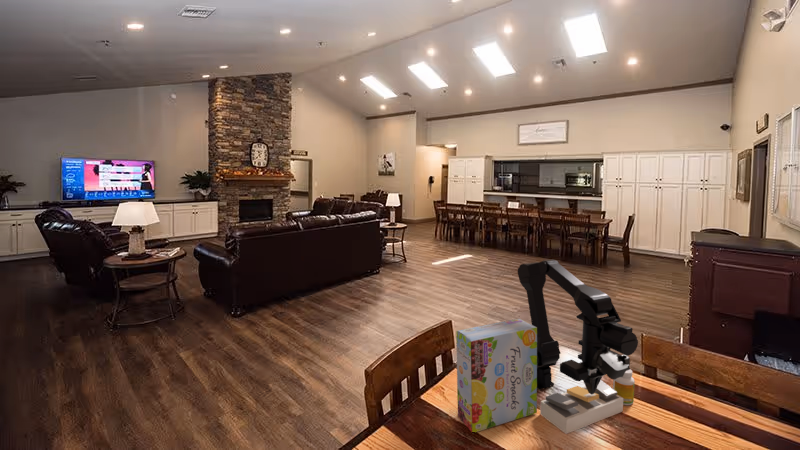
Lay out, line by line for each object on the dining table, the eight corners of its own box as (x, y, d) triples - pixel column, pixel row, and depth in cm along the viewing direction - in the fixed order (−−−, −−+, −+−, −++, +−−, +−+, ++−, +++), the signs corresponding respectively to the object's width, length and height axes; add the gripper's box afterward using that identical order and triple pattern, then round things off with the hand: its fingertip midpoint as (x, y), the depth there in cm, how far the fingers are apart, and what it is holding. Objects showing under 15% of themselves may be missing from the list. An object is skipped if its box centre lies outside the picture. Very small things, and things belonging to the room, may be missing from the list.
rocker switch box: (540, 414, 105) (540, 400, 105) (594, 395, 114) (595, 382, 114) (566, 433, 97) (566, 419, 97) (622, 411, 106) (623, 397, 105)
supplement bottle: (636, 406, 108) (638, 375, 107) (616, 404, 109) (617, 373, 108) (629, 396, 113) (630, 366, 112) (609, 394, 114) (611, 364, 113)
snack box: (517, 398, 113) (519, 316, 110) (537, 414, 105) (540, 327, 102) (455, 415, 105) (455, 328, 102) (471, 435, 97) (472, 341, 94)
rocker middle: (566, 392, 107) (566, 389, 107) (577, 389, 109) (577, 385, 109) (587, 402, 101) (587, 398, 101) (599, 398, 103) (598, 394, 103)
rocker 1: (545, 400, 104) (545, 396, 104) (557, 396, 106) (557, 392, 106) (566, 409, 98) (565, 405, 98) (578, 405, 99) (577, 401, 99)
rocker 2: (585, 382, 110) (585, 379, 110) (595, 379, 112) (596, 376, 112) (606, 398, 104) (606, 395, 104) (616, 395, 106) (617, 391, 106)
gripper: (596, 359, 89) (593, 419, 91) (646, 344, 97) (642, 400, 99) (559, 341, 99) (557, 396, 101) (607, 329, 107) (604, 380, 109)
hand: (591, 393), depth 102 cm, fingers closed
